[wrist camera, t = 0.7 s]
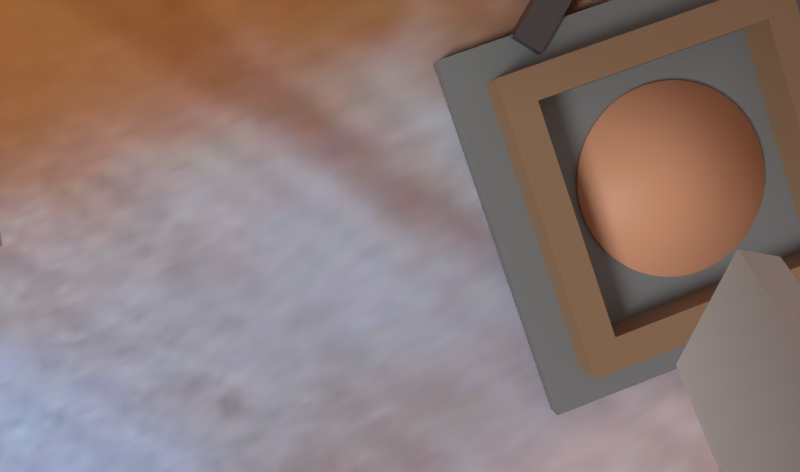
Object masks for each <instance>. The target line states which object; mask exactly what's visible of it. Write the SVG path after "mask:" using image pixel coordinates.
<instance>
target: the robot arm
mask: <svg viewBox="0 0 800 472" xmlns="http://www.w3.org/2000/svg"><path fill="white" fill-rule="evenodd" d="M1 246H2V240H1V234H0V247H1ZM676 366H677V368H678V371H679V373H680V375H681V378H682V380H683V383H684V385H685V388H686V390H687V393H688V395H689V397H690V400H691V402H692V405H693V407H694V410H695V412H696V415H697V417H698V419H699V422H700V424H701V427H702V429H703V432H704V434H705V437H706V439H707V441H708V444H709V446H710V449H711V451H712V454H713V456H714V459H715V461H716V463H717V466H718V468H719V471H720V472H800V283H799V281H798V280H797V279H796V277H795V276H794V275H793V273H792V272H791V271H790V269H789V268H788V267H787V265H786V264H785V263H784V261H783V260H782V259H781V257H780V256H774V255H769V254H763V253H758V252H752V251H747V250H741V249H737V251H736V253H735V254H734V256H733V258H732V260H731V262H730V264H729V266H728V268H727V270H726V271H725V273H724V275H723V277H722V279H721V281H720V283H719V285H718V286H717V288H716V290H715V292H714V294H713V296H712V298H711V300H710V302H709V303H708V305H707V307H706V309H705V311H704V313H703V315H702V317H701V318H700V320H699V322H698V324H697V326H696V328H695V330H694V332H693V334H692V335H691V337H690V339H689V341H688V343H687V345H686V347H685V349H684V351H683V352H682V354H681V356H680V358H679V360H678V362H677V364H676Z"/></svg>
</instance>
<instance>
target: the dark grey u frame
mask: <svg viewBox="0 0 800 472" xmlns="http://www.w3.org/2000/svg"><path fill="white" fill-rule="evenodd" d="M571 2H572V0H530V2H529V4H528V5H527V7H526V9H525V10H524V12H523V14H522V16H521V17H520V19H519V21H518V22H517V24H516V26H515V28H514V29H513V31H512V33H511V34H510V35H512V34H513V36H512V37H511V38H512V39H514V40H515V41H517V42H518V43H520V44H521V45H523V46H525V47H526V48H528V49H529V50H531V51H532V52H534V53H536V54H537V55H539V54H541V53H542V51H543V50H544V48H545V46H546V44H547V43H548V41H549V39H550V38H551V36H552V34H553V32H554V31H555V29H556V27H557V26H558V24H559V22H560V20H561V19H562V17H563V15H564V14H565V12H566V10H567V8H568V7H569V5H570V3H571Z"/></svg>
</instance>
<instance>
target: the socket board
mask: <svg viewBox="0 0 800 472" xmlns="http://www.w3.org/2000/svg"><path fill="white" fill-rule="evenodd" d="M512 36H513V34H512V35H510V36H507V37H504V38H501V39H498V40H495V41H492V42H489V43H486V44H483V45H481V46H478V47H475V48H472V49H469V50H466V51H463V52H460V53H457V54H455V55H452V56H449V57H446V58H443V59H440V60H437V61H436V62H435V63H434V67H435V70H436V73H437V76H438V78H439V81H440V84H441V87H442V90H443V93H444V96H445V99H446V102H447V105H448V108H449V111H450V114H451V117H452V119H453V122H454V125H455V128H456V131H457V134H458V137H459V140H460V143H461V146H462V149H463V152H464V155H465V158H466V161H467V163H468V166H469V169H470V172H471V175H472V178H473V181H474V184H475V187H476V190H477V193H478V196H479V199H480V202H481V205H482V207H483V210H484V213H485V216H486V219H487V222H488V225H489V228H490V231H491V234H492V237H493V240H494V243H495V246H496V248H497V251H498V254H499V257H500V260H501V263H502V266H503V269H504V272H505V275H506V278H507V281H508V284H509V287H510V290H511V292H512V295H513V298H514V301H515V304H516V307H517V310H518V313H519V316H520V319H521V322H522V325H523V328H524V331H525V333H526V336H527V339H528V342H529V345H530V348H531V351H532V354H533V357H534V360H535V363H536V366H537V369H538V372H539V375H540V377H541V380H542V383H543V386H544V389H545V392H546V395H547V398H548V401H549V404H550V407H551V409H552V410H553V411H554V412H555V413H556V414H557V415H559V414H562V413H564V412H567V411H569V410H572V409H575V408H577V407H580V406H582V405H585V404H587V403H590V402H592V401H595V400H597V399H600V398H603V397H605V396H608V395H610V394H613V393H615V392H618V391H620V390H623V389H626V388H628V387H631V386H633V385H636V384H638V383H641V382H643V381H646V380H648V379H651V378H654V377H656V376H659V375H661V374H664V373H666V372H669V371H671V370H674V369H677V366H676V364H677V362H678V360H679V358H680V356H681V354H682V352H683V351H684V349H685V347H686V345H687V343H688V341H689V339H690V337H691V335H692V334H693V332H694V330H695V328H696V326H697V324H698V322H699V320H700V318H701V317H702V315H703V313H704V311H705V309H706V307H707V305H708V303H709V302H710V300H711V298H712V296H713V294H714V292H715V290H716V288H717V286H718V285H719V283H720V281H721V279H722V277H723V275H724V273H725V271H726V270H727V268H728V266H729V264H730V262H731V260H732V258H733V256H734V254H735V253H736V251H737V249H741V250H747V251H752V252H758V253H763V254H769V255H774V256H780V257H781V259H782V260H783V261H784V263H785V264H786V265H787V267H788V268H789V269H790V271H791V272H792V273H793V275H794V276H795V277H796V279H797V280H798V281H799V283H800V0H611V1H608V2H605V3H602V4H599V5H596V6H593V7H591V8H588V9H585V10H582V11H579V12H576V13H573V14H570V15H567V16H565V17H562V19H561V20H560V22H559V24H558V26H557V27H556V29H555V31H554V32H553V34H552V36H551V38H550V39H549V41H548V43H547V44H546V46H545V48H544V50H543V51H542V53H541V54H539V55H537V54H536V53H534V52H532V51H531V50H529V49H528V48H526V47H525V46H523V45H521V44H520V43H518V42H517V41H515V40H514V39H512V38H511V37H512Z"/></svg>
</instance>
